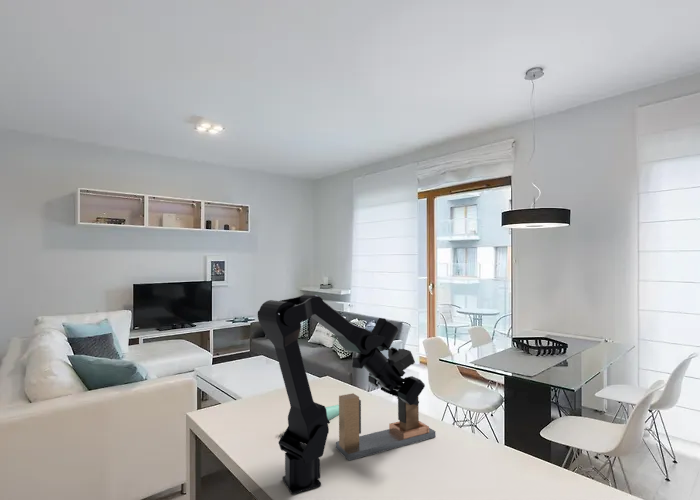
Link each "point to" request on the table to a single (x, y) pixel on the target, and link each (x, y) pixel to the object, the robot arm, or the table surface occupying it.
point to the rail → (374, 442)
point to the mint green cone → (332, 411)
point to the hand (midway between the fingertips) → (412, 401)
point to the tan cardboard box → (408, 416)
